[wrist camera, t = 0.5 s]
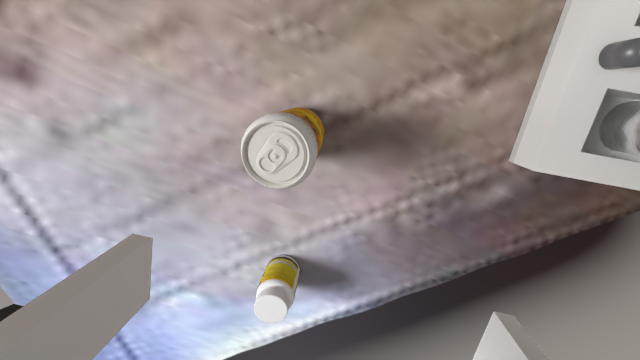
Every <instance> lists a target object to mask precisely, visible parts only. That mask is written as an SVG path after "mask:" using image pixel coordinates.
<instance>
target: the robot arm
mask: <svg viewBox="0 0 640 360" xmlns="http://www.w3.org/2000/svg"><path fill="white" fill-rule="evenodd" d="M152 241H153V238H150V237H145V236H141V235H136V234H132V235H130V236H129V237H127V238H126V239H124V240H123V241H121V242H120V243H118V244H117V245H115V246H114V247H112V248H111V249H109V250H108V251H106V252H105V253H103V254H102V255H100V256H99V257H97V258H96V259H94V260H93V261H91V262H90V263H88V264H87V265H85V266H84V267H82V268H81V269H79V270H78V271H76V272H75V273H73V274H72V275H70V276H69V277H67V278H66V279H64V280H63V281H61V282H60V283H58V284H56V285H55V286H53V287H52V288H50V289H49V290H47V291H46V292H44V293H43V294H41V295H40V296H38V297H37V298H35V299H34V300H32V301H31V302H29V303H28V304H26V305H25V306H20V305H15V304H13V305H10V306H8V307H5V308H3V309H1V310H0V360H92V359H93V358H94V357H95V356H96V355H97V354H98V353H99V352H100V351H101V350H102V349H103V348H104V347H105V346H106V345H107V343H108V342H109V341H110V340H111V339H112V338H113V337H114V336H115V335H116V334H117V333H118V332H119V331H120V330H121V329H122V328H123V326H124V325H125V324H126V323H127V322H128V321H129V320H130V319H131V318H132V317H133V316H134V315H135V314H136V313H137V312H138V311H139V309H140V308H141V307H142V306H143V305H144V304H145V303H146V302H147V301H148V300H149V299H150V282H151V262H152ZM473 360H548V358H547V357H546V356H545V355H544V353H543V352H542V351H541V350H540V348H539V347H538V346H537V344H536V343H535V342H534V341H533V339H532V338H531V337H530V336H529V334H528V333H527V332H526V331H525V329H524V328H523V327H522V326H521V324H520V323H519V322H518V321H517V319H516V318H515V317H514V316H513V315H508V314H503V313H499V312H493V314H492V317H491V319H490V321H489V323H488V326H487V328H486V330H485V332H484V335H483V337H482V339H481V341H480V344H479V346H478V348H477V351H476V353H475V355H474V357H473Z"/></svg>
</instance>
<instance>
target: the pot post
mask: <svg viewBox="0 0 640 360" xmlns="http://www.w3.org/2000/svg"><path fill="white" fill-rule="evenodd" d="M599 64H600V66H601V67H602V68H604V69H607V70H611V69H621V68H632V67H640V38H635V39H630V40H625V41H619V42H614V43H610V44H608V45H607V46H605V47H604V48H603V49H602V51H601V52H600V54H599Z"/></svg>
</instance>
